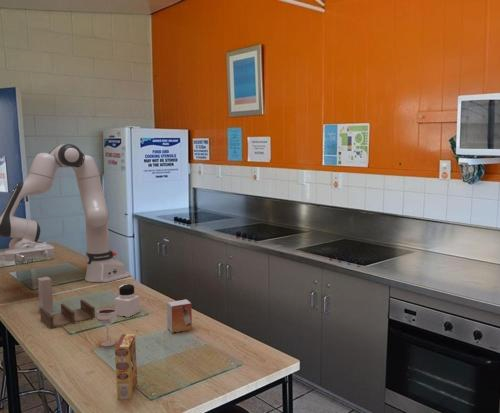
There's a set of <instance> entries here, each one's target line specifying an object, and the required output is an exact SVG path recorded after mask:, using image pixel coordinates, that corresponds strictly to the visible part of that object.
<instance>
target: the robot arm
mask: <svg viewBox="0 0 500 413" xmlns="http://www.w3.org/2000/svg"><path fill="white" fill-rule="evenodd" d="M59 168H72V170H73V172H74V174H75V178H76V182H77V186H78V190H79V195H80V199H81V200H80V201H81V204H82V208H83V213H84V219H85V238H86V241H85V242H86V254H85V260H86V274H85V277H84V280H85V281H87V282H88V283H89V282H90V283H92V282H93V283H109V282H113V281H116V280H120V279H125V278H128V277H131V272H129V271H127V270H126V268H125V265H124V263H123V262H121V261H120V260H119V259H117V258H115V256H117V254H118V253H117V252H116V251H112V250H110V234H109V217H110V216H109V212H108V211H109V210H108V206H107V202H106V199H105V198H106V197H105V194H104V193H105V192H104V191H103V186H102V180H101V178H100V173H99V169H98V166H97V163H96V161H95V159H94V157H93V156H91V155H89V154H84V153H83V152H82V151H81V150H80V148H79V147H78V146H77V145H75V144H70V143H66V144H65V143H64V144H63V143H62V144H60V145H57V146H56V147H54V148H53V149H51V151H49V152H40V153H38V154H36V155H35V157H34V159H33V161H32V163H31V166H30V167H29V172H28V174H27V177H26V178H25V179H24V180H23V181H19V183H17V185H16V186H15V188H14V190H13V191H12V193H11V195H10V197H9V199H8V201H7V203H6V205H5V207H4V209H3V211H2V213H1V214H0V237H1V238H3V237H4V238H12V239H11V240H10V241H9V244H8V248H9V249H8V250H5V251H4V253H1V256H2V257H4V259H5V261H6V262H14V261H23V262H30V261H31V260H34V259H37V258H47V257H50V256H51V257H52V256H55V254H56V250H55V246H53V245H52V244H48V243H47V242H46V241H38V240H39V239H40V235H41V227H40V224H39V222H37V220H33V219H30V218H29V219H28V218H22V217H18V216H15V215H14V214H15V212H16V210H17V209H18V207H19V204H20V202H21V201H22V200H23V199H24V198H25V197H28V196H38V195H43V194H45V193H47V192H49V190H50V189H51V187H52V185H53V182H54V179H55V177H56V176H55V175H56V172H57V170H58V169H59Z"/></svg>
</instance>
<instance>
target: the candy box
mask: <svg viewBox="0 0 500 413" xmlns="http://www.w3.org/2000/svg"><path fill="white" fill-rule="evenodd" d="M114 353H115V354H114V357H115V360H114V361H115V380H116V398H117V401H118V400H121V401H122V400H131V399H132V398H133V396H134V394H135V391H136V389H137V386H136V385H138V371H137V370H138V368H137V367H138V366H137V347H136V334H135V333H134V334H133V333H132V334H131V333H129V334H128V333H127V334H121V335H120V336H119V339H118V341H117V343H116V345H115V346H114ZM135 388H136V389H135Z"/></svg>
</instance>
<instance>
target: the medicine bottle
mask: <svg viewBox="0 0 500 413" xmlns="http://www.w3.org/2000/svg"><path fill="white" fill-rule="evenodd" d="M118 295H119V296H117V297H115V298H114V308H116V313H117V316H118V315H119V317H123V316H125V318H130V316H131V317H132V315H133V316H135V315H137V314H139V313H140V295H136V294H135V286H134V285H133V284H130V283H126V284H121V285H120V286H119V287H118ZM138 312H139V313H138ZM136 313H137V314H136ZM134 314H135V315H134Z"/></svg>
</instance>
